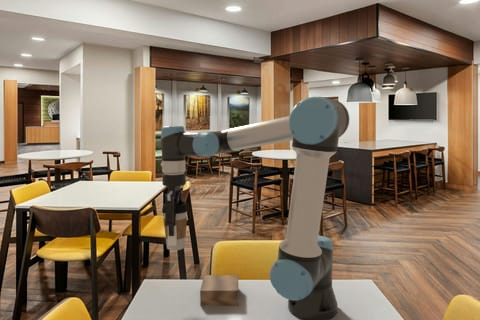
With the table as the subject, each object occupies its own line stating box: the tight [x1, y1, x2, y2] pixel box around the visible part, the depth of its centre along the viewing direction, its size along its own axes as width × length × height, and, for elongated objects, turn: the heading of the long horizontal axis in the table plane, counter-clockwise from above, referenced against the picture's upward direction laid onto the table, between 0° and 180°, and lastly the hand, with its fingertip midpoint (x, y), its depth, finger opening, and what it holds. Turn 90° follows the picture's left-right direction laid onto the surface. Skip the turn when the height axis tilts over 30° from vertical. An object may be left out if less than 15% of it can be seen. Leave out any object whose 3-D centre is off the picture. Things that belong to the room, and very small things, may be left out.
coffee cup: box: [161, 201, 188, 251], centre depth 125 cm, size 8×8×15 cm
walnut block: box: [199, 274, 239, 307], centre depth 125 cm, size 12×12×5 cm
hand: (175, 241), depth 125 cm, fingers closed on coffee cup, 8 cm apart
